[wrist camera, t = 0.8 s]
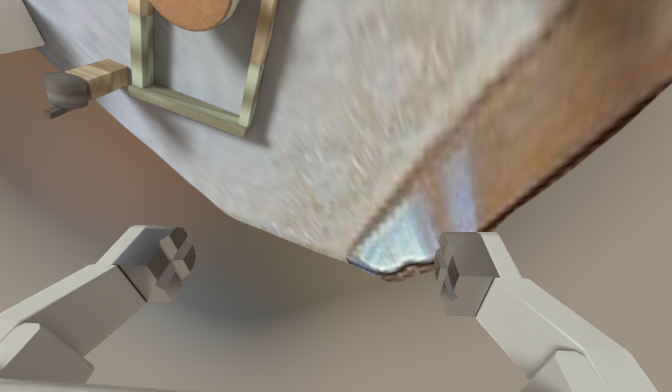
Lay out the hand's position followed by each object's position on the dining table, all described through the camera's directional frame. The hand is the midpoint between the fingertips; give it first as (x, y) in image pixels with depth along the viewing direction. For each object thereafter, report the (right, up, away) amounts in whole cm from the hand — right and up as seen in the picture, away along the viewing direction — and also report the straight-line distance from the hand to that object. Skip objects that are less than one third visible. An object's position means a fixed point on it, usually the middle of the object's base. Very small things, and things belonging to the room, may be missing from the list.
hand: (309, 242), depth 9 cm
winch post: (-34, +21, +36) cm, 54 cm away
